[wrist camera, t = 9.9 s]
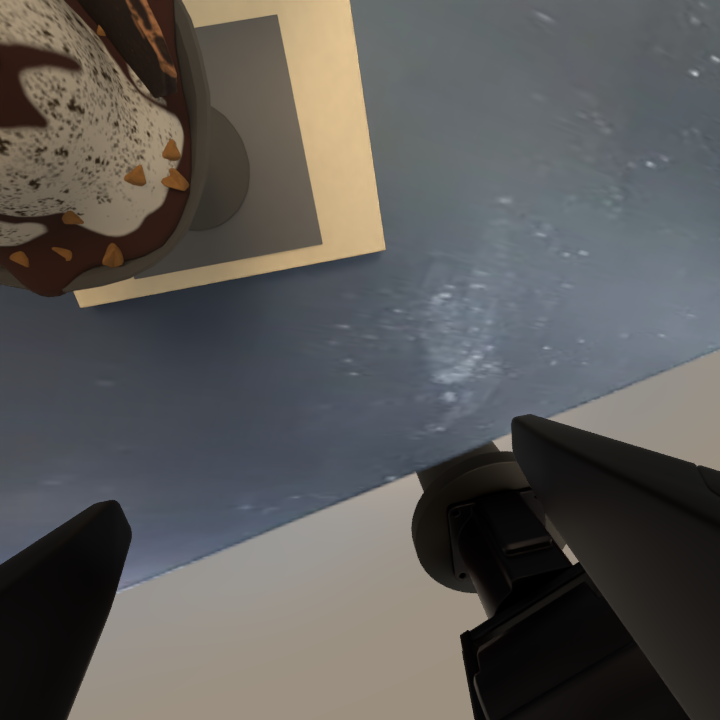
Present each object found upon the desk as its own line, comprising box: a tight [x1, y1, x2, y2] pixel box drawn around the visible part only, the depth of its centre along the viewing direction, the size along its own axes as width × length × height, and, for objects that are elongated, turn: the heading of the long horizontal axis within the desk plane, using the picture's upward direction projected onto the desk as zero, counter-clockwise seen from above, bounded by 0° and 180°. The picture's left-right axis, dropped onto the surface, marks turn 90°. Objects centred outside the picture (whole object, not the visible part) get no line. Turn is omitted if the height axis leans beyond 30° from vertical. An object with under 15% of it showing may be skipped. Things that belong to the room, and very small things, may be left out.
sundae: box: [0, 0, 250, 297], centre depth 9 cm, size 7×7×15 cm
